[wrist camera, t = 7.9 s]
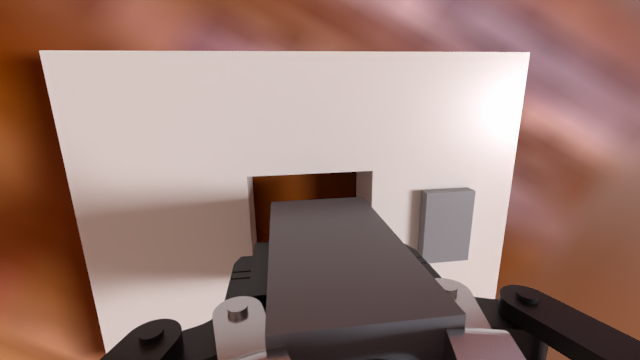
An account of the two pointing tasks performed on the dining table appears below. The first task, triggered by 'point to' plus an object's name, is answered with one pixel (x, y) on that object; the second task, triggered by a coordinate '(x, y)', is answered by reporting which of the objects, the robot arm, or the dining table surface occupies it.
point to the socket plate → (275, 160)
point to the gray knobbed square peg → (350, 287)
